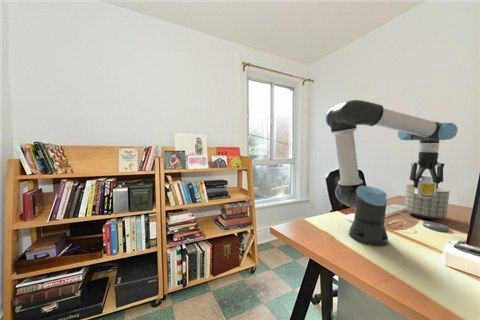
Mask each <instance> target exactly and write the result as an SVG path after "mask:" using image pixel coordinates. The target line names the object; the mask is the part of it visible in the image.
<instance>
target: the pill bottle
mask: <svg viewBox="0 0 480 320" xmlns="http://www.w3.org/2000/svg"><path fill="white" fill-rule="evenodd" d="M419 182H420V192H419V194H417V196H419V197H423V198H432V197H433V189H434V182H433V180H432V176H431V175H428V174H426V175H425V174H422V176H421V178H420V180H419Z"/></svg>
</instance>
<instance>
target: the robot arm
mask: <svg viewBox="0 0 480 320" xmlns="http://www.w3.org/2000/svg"><path fill="white" fill-rule="evenodd" d="M325 122H326V124H327V126H328V127H330V132H331V133H332V134H333V135H334V137H335V146H336V154H337V161H338V170H339V176H340V179H339V180H338V181H337V186H336V188H335V191H334V193H335V197H336V198H337V200H338V201H339V202H340V203H341V204H343V205H345V206H347V207H349V208H351V209H353V210H354V219H353V222H352V224H351V225H350V227H349V231H348V235H349V236H350V238H352V239H353V240H355V241H357V242H359V243H362V244H366V245H369V246H374V247H375V246H377V247H382V246H383V247H384V246H386V245H388V242H389V236H388V234H387V230H386V227H385V221H386V211H387V202H388V201H387V193H386V192H385V191H384V190H382V189H380V188H377V187H374V186H370V185H369V186H368V185H364V181H363V179H361V178H360V176H359V167H358V159H357V151H356V142H355V134H354V132H355V131H356V130H357V126H369V127H374V126H378V127H383V128H387V129H391V130H395V131H397V137H398V138H399V140H402V141H406V142H407V141H419V149H418V151H419V152H418V161H416V162H410V163H411V164H410V165H411V169H410V175H409V181H412V182H413V184H412V185H413V187H414V188H415V194H419V192H420V182H419V180H420V179H421V176H422V175H424V172H425V171H426V170H428V171H429V173H430V176H432V179H431V180H432V181H433V182H434V189H433V195H435V194H436V189H437V188H438V187H439V184H440V183H443V182H444V167H445V163H441V162H439V161H438V160H439V150H440V141H447V140H453V139H454V138H455V137H456V136H457V134H458V130H459V129H458V127H457V125H456V124H455V123H454V122H439V121H432V120H428V119H425V118H420V117H417V116H413V115H410V114H406V113H402V112H400V111H396V110H395V111H394V110H391V109H387V108H384V106H383V105H382V104H379V103H375V102H370V101H366V100H362V99H353V100H352V99H351V100H347V101H345V102H342V103H339V104H335V105H334V106H332V107H330V109H329V110H328V111H327V112H326V114H325Z"/></svg>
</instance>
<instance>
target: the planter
mask: <svg viewBox="0 0 480 320" xmlns="http://www.w3.org/2000/svg"><path fill="white" fill-rule="evenodd" d="M413 185H414V184H407V185H406V189H405V190H406V191H405V199H404V200H405V201H404V209H405V211H407V212H409V213H411V214H412V215H414V216H416V217H419V218H422V219H427V220H433V219H434V220H435V219H436V220H437V219H439V218H446V217H447V215H448V206H449V200H450V190H449V189H447V188H443V187H439V186H438V188H437V189H436V194H435V195H433V197H432V198H423V197H419V196H417V194H415V188H414V187H413Z"/></svg>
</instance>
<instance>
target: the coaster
mask: <svg viewBox="0 0 480 320" xmlns="http://www.w3.org/2000/svg"><path fill="white" fill-rule="evenodd" d="M422 226H423V227H424V228H426V229H428V230H430V231H435V232H440V233H449V232H450V229H451V228H450V227H449V226H447V225H445V224H442V223H439V222H434V221H423V222H422Z"/></svg>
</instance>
